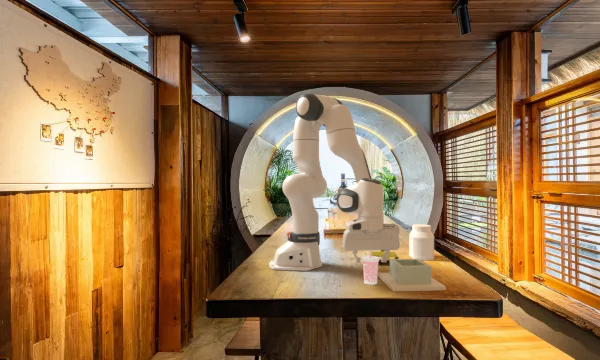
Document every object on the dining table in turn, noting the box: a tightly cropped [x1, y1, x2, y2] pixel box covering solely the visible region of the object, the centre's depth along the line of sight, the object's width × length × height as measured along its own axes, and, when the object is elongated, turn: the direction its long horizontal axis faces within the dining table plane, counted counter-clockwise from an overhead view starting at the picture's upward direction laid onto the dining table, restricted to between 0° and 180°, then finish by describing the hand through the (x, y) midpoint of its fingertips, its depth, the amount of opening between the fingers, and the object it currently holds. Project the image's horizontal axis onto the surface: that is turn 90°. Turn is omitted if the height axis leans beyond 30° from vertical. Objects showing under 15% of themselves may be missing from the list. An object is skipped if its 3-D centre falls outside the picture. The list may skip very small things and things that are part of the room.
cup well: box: [377, 258, 447, 292], centre depth 130 cm, size 18×18×7 cm
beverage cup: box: [361, 250, 380, 286], centre depth 130 cm, size 6×6×14 cm
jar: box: [408, 223, 435, 261], centre depth 168 cm, size 12×10×15 cm
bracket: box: [371, 250, 400, 260], centre depth 157 cm, size 16×8×15 cm
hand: (370, 262), depth 129 cm, fingers open, 8 cm apart
